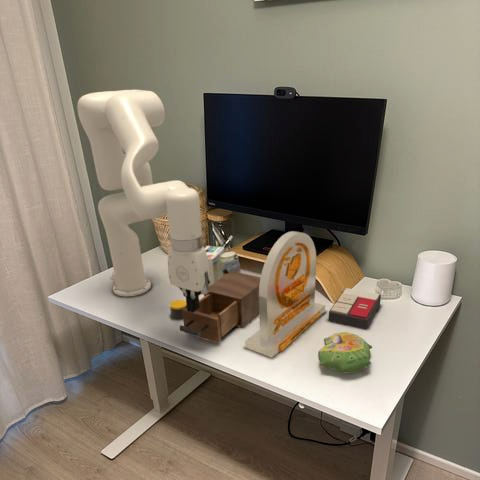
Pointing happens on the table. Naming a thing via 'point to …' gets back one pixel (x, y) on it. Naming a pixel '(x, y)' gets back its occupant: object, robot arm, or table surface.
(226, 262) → the beverage can
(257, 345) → the award
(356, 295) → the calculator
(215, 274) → the light bulb box
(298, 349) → the table surface
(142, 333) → the table surface
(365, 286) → the table surface
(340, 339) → the educational model
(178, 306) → the jar
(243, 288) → the cabinet
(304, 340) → the table surface
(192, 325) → the drawer
